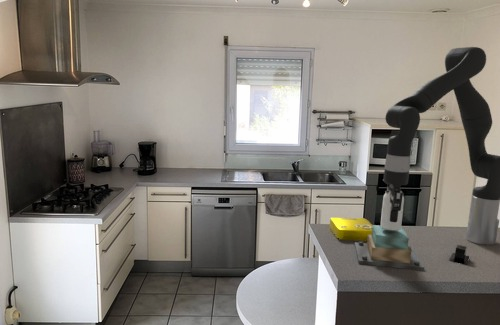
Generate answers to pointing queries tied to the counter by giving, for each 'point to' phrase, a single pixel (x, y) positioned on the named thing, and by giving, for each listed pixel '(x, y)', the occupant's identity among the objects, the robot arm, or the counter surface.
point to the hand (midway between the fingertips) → (391, 218)
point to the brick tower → (388, 250)
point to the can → (386, 214)
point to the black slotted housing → (460, 255)
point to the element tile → (351, 228)
